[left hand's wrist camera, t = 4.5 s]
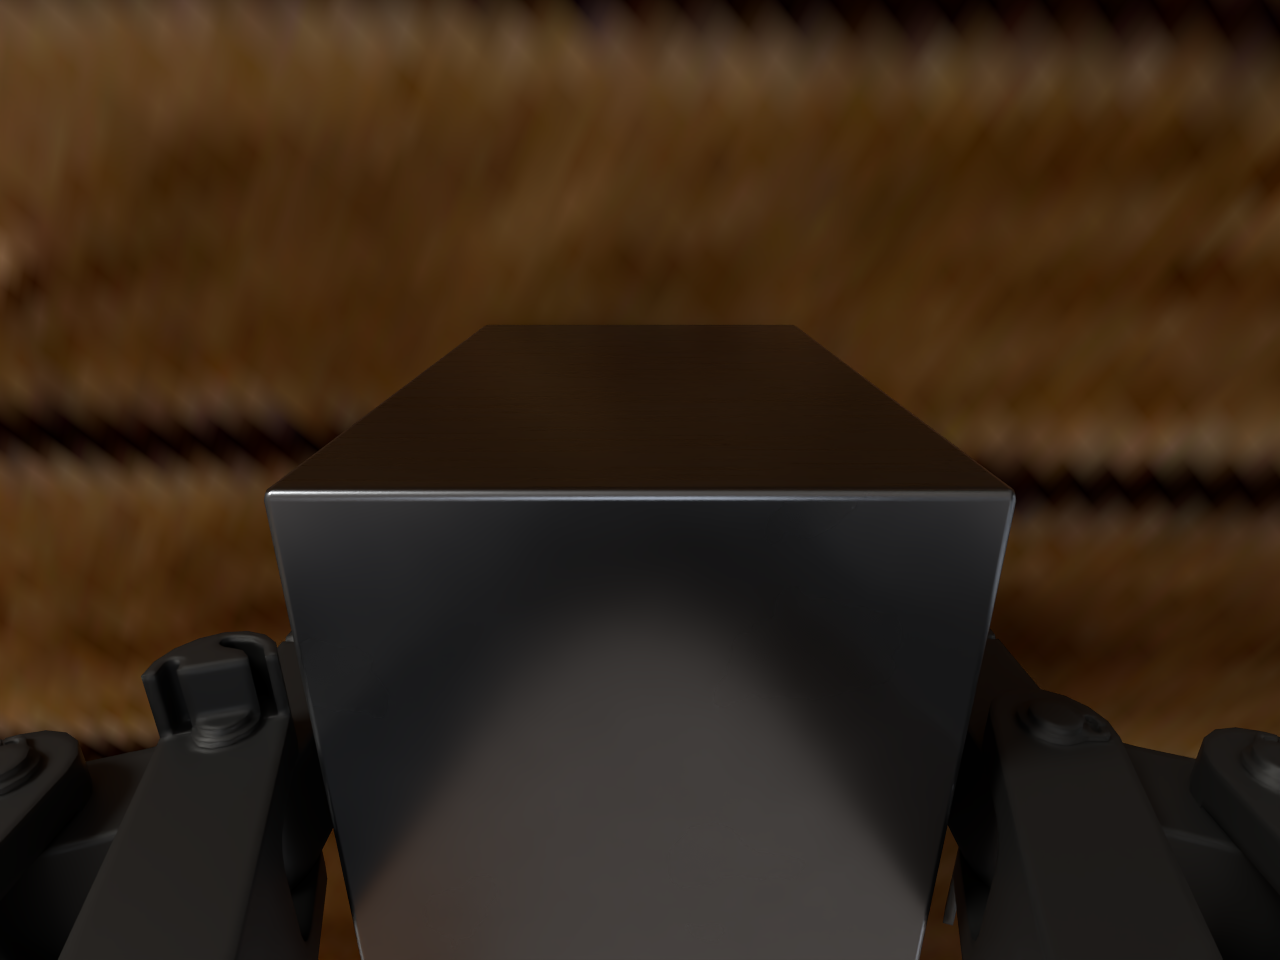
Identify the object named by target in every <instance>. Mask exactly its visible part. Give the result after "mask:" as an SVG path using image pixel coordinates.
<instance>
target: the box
mask: <svg viewBox="0 0 1280 960" xmlns="http://www.w3.org/2000/svg"><path fill="white" fill-rule="evenodd" d="M264 502H265V507H266V512H267V516H268V521H269V526H270V530H271V535H272V540H273V545H274V549H275V554H276V559H277V564H278V568H279V573H280V578H281V583H282V587H283V592H284V597H285V601H286V606H287V611H288V616H289V620H290V625H291V630H292V635H293V639H294V644H295V649H296V653H297V658H298V663H299V668H300V672H301V677H302V682H303V687H304V691H305V696H306V701H307V705H308V710H309V715H310V720H311V724H312V729H313V734H314V739H315V743H316V748H317V753H318V758H319V762H320V767H321V772H322V776H323V781H324V786H325V791H326V795H327V800H328V805H329V810H330V814H331V819H332V824H333V828H334V833H335V838H336V843H337V847H338V852H339V857H340V862H341V866H342V871H343V876H344V880H345V885H346V890H347V895H348V899H349V904H350V909H351V914H352V918H353V923H354V928H355V933H356V937H357V942H358V947H359V951H360V956H361V960H919V957H920V952H921V948H922V943H923V938H924V934H925V929H926V924H927V919H928V915H929V910H930V905H931V900H932V896H933V891H934V886H935V882H936V877H937V872H938V867H939V863H940V858H941V853H942V849H943V844H944V839H945V834H946V830H947V825H948V820H949V815H950V811H951V806H952V801H953V797H954V792H955V787H956V782H957V778H958V773H959V768H960V763H961V759H962V754H963V749H964V745H965V740H966V735H967V730H968V726H969V721H970V716H971V711H972V707H973V702H974V697H975V693H976V688H977V683H978V678H979V674H980V669H981V664H982V660H983V655H984V650H985V645H986V641H987V636H988V631H989V626H990V622H991V617H992V612H993V608H994V603H995V598H996V593H997V589H998V584H999V579H1000V574H1001V570H1002V565H1003V560H1004V556H1005V551H1006V546H1007V541H1008V537H1009V532H1010V527H1011V522H1012V518H1013V513H1014V508H1015V504H1016V496H1015V492H1014V490H1013V489H1012V488H1010V487H1009V486H1008V485H1006V484H1005V483H1004V482H1002V481H1001V480H1000V479H998V478H997V477H996V476H995V475H993V474H992V473H991V472H989V471H988V470H987V469H985V468H984V467H983V466H981V465H980V464H979V463H977V462H976V461H975V460H973V459H972V458H971V457H969V456H968V455H967V454H965V453H964V452H963V451H961V450H960V449H959V448H957V447H956V446H955V445H953V444H952V443H951V442H949V441H948V440H947V439H945V438H944V437H943V436H941V435H940V434H939V433H937V432H936V431H935V430H933V429H932V428H931V427H929V426H928V425H927V424H925V423H924V422H923V421H921V420H920V419H919V418H917V417H916V416H915V415H913V414H912V413H911V412H909V411H908V410H907V409H905V408H904V407H903V406H901V405H900V404H899V403H897V402H896V401H895V400H893V399H892V398H891V397H889V396H888V395H887V394H885V393H884V392H883V391H881V390H880V389H879V388H877V387H876V386H875V385H873V384H872V383H871V382H869V381H868V380H867V379H865V378H864V377H863V376H861V375H860V374H859V373H857V372H856V371H855V370H853V369H852V368H851V367H849V366H848V365H847V364H845V363H844V362H843V361H841V360H840V359H839V358H837V357H836V356H835V355H833V354H832V353H831V352H829V351H828V350H827V349H825V348H824V347H823V346H821V345H820V344H819V343H817V342H816V341H815V340H813V339H812V338H811V337H809V336H808V335H807V334H805V333H804V332H803V331H801V330H800V329H799V328H797V327H796V326H794V325H486V326H484V327H483V328H481V329H480V330H479V331H477V332H476V333H475V334H473V335H472V336H471V337H469V338H468V339H467V340H465V341H464V342H463V343H461V344H460V345H459V346H457V347H456V348H455V349H453V350H452V351H451V352H449V353H448V354H447V355H445V356H444V357H443V358H441V359H440V360H439V361H437V362H436V363H435V364H433V365H432V366H431V367H429V368H428V369H427V370H425V371H424V372H423V373H421V374H420V375H419V376H417V377H416V378H415V379H413V380H412V381H411V382H410V383H408V384H407V385H406V386H404V387H403V388H402V389H400V390H399V391H398V392H396V393H395V394H394V395H392V396H391V397H390V398H388V399H387V400H386V401H384V402H383V403H382V404H380V405H379V406H378V407H376V408H375V409H374V410H372V411H371V412H370V413H368V414H367V415H366V416H364V417H363V418H362V419H360V420H359V421H358V422H356V423H355V424H354V425H352V426H351V427H350V428H348V429H347V430H346V431H344V432H343V433H342V434H340V435H339V436H338V437H336V438H335V439H334V440H332V441H331V442H330V443H328V444H327V445H326V446H324V447H323V448H322V449H320V450H319V451H318V452H316V453H315V454H314V455H312V456H311V457H310V458H308V459H307V460H306V461H304V462H303V463H302V464H300V465H299V466H298V467H296V468H295V469H294V470H292V471H291V472H290V473H288V474H287V475H286V476H284V477H283V478H282V479H280V480H279V481H278V482H276V483H275V484H274V485H272V486H271V487H270V488H268V489H267V490H266V493H265V499H264Z"/></svg>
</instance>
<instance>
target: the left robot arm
mask: <svg viewBox="0 0 1280 960" xmlns="http://www.w3.org/2000/svg"><path fill="white" fill-rule="evenodd" d="M141 678H142V681H143V684H144V687H145V691H146V694H147V697H148V700H149V703H150V707H151V710H152V713H153V716H154V719H155V723H156V726H157V729H158V732H159V735H160V740H159V742H158V744H157V746H155V747H152V748H148V749H144V750H140V751H135V752H130V753H125V754H121V755H116V756H111V757H106V758H102V759H97V760H92V761H88V762H85V759H84V756H83V754H82V751H81V748H80V745H79V743H78V741H77V740H76V739H75V738H73V737H72V736H71V735H69V734H68V733H66V732H56V731H40V732H33V733H27V734H20V735H16V736H12V737H8V738H5V739H4V740H0V960H318V954H319V945H320V937H321V928H322V919H323V911H324V902H325V893H326V885H327V874H326V867H325V861H324V857H323V852H322V849H323V847H324V845H325V843H326V841H327V839H328V837H329V835H330V833H331V831H332V829H333V824H332V819H331V814H330V810H329V805H328V800H327V795H326V791H325V786H324V781H323V776H322V772H321V767H320V762H319V758H318V753H317V748H316V743H315V739H314V734H313V729H312V724H311V720H310V715H309V710H308V705H307V701H306V696H305V691H304V687H303V682H302V677H301V672H300V668H299V663H298V658H297V653H296V649H295V644H294V639H293V635H292V631H291V632H290V633H289V634H288V636H287V637H286V641H285V642H282V643H281V644H280V645H279V646H278V648H277V646H276V642H274V641H273V640H272V639H270V638H269V637H268V636H267V635H265V634H260V633H254V632H249V631H242V632H225V633H220V634H216V635H212V636H208V637H203V638H199V639H197V640H194V641H192V642H190V643H187V644H185V645H182V646H180V647H177V648H175V649H173V650H172V651H170V652H169V653H167V654H165V655H164V656H162V657H161V658H159V659H158V660H156V661H155V662H153V664H152V665H151V666H150V667H149V668H148V669H147V670H146V671H145V673H144V674H143V675H142V676H141ZM948 826H949V828H950V830H951V832H952V834H953V836H954V838H955V840H956V842H957V844H958V846H959V848H958V852H957V857H956V861H955V866H954V870H953V875H952V879H951V884H950V888H949V893H948V897H947V902H946V906H945V912H944V919H943V923H946V924H950V925H953V922H954V917H955V913H956V909H957V917H958V926H959V935H960V943H961V952H962V960H1280V737H1278V736H1277V735H1274V734H1270V733H1266V732H1262V731H1256V730H1249V729H1242V728H1236V727H1235V728H1225V729H1216V730H1214V731H1213V732H1211V733H1210V734H1208V735H1207V736H1206V737H1204V739H1203V742H1202V745H1201V747H1200V750H1199V753H1198V756H1197V758H1196V759H1193V758H1189V757H1184V756H1179V755H1174V754H1170V753H1165V752H1160V751H1155V750H1151V749H1146V748H1141V747H1136V746H1133V745H1129V744H1125V743H1122V741H1121V738H1120V737H1119V735H1118V734H1117V733H1116V731H1115V730H1114V729H1113V727H1112V726H1111V725H1110V723H1109V722H1108V721H1107V720H1105V719H1104V718H1103V717H1101V716H1100V715H1099V714H1097V713H1096V712H1095V711H1093V710H1092V709H1091V708H1089V707H1087V706H1085V705H1083V704H1081V703H1079V702H1077V701H1075V700H1073V699H1071V698H1068V697H1066V696H1063V695H1060V694H1056V693H1052V692H1049V691H1045V690H1041V689H1040V688H1039V687H1038V686H1037V685H1036V683H1035V682H1034V681H1033V680H1032V679H1031V677H1030V676H1029V675H1028V674H1027V673H1026V671H1025V670H1024V669H1023V668H1022V667H1021V665H1020V664H1019V663H1018V662H1017V661H1016V659H1015V658H1014V657H1013V656H1012V655H1011V653H1010V652H1009V651H1008V650H1007V649H1006V647H1005V646H1004V645H1003V644H1002V643H1001V641H1000V640H999V639H995V634H994V633H993V632H992V631H991V629H990V628H989V631H988V636H987V641H986V645H985V650H984V655H983V660H982V664H981V669H980V674H979V678H978V683H977V688H976V693H975V697H974V702H973V707H972V711H971V716H970V721H969V726H968V730H967V735H966V740H965V745H964V749H963V754H962V759H961V763H960V768H959V773H958V778H957V782H956V787H955V792H954V797H953V801H952V806H951V811H950V815H949V820H948Z"/></svg>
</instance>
